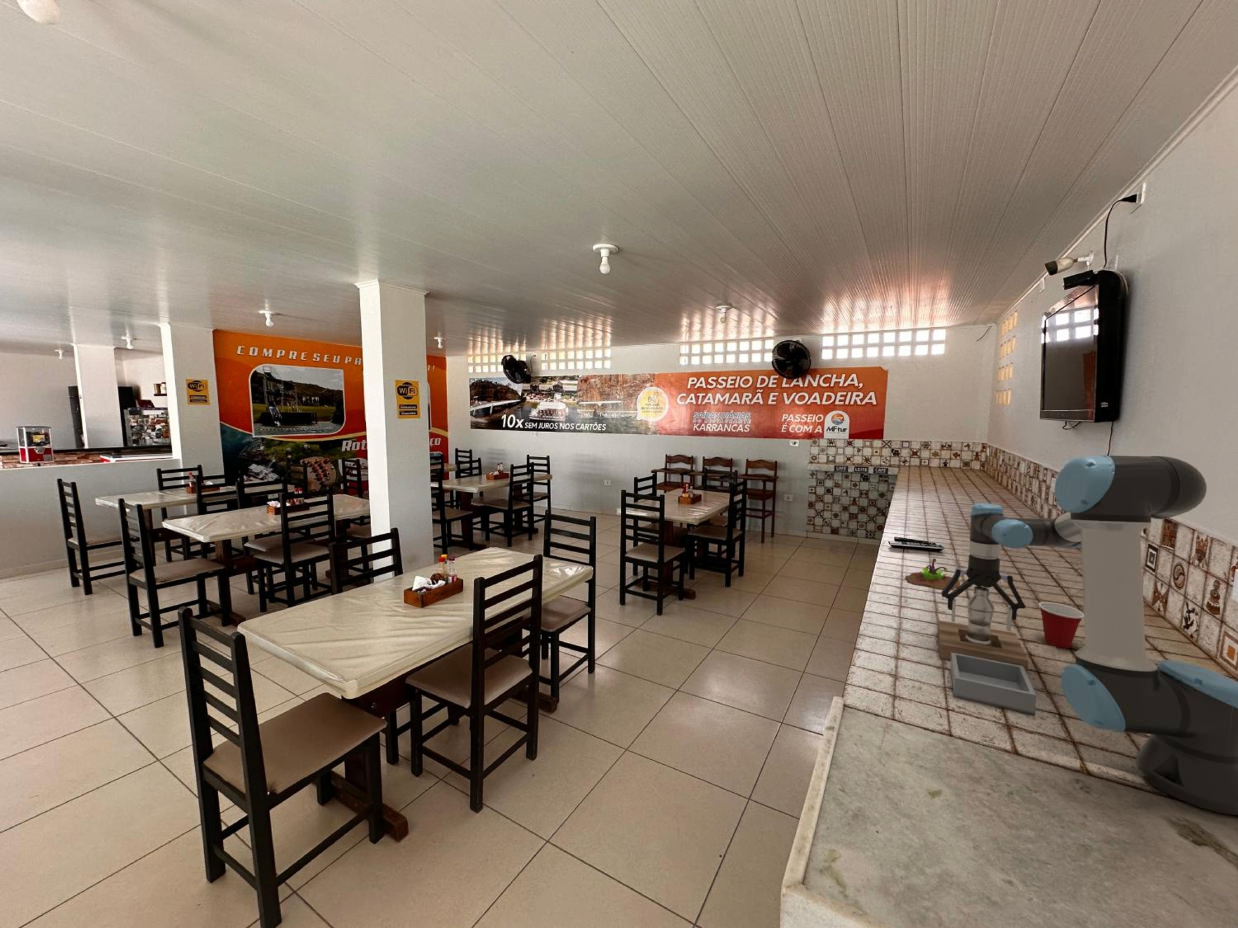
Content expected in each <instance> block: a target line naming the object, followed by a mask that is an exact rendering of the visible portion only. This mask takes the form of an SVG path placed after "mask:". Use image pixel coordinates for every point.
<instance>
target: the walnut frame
mask: <svg viewBox="0 0 1238 928" xmlns="http://www.w3.org/2000/svg"><path fill="white" fill-rule="evenodd" d="M937 624H938V625H937V637H938V646H939V647H938V648H939V654H940V655H939V656H940V660H947V661H950V662H951V652H952V653H957V654H962V655H967V656H973V657H978V658H983V659H988V660H993V661H999V662H1004V663H1009V664H1014V665H1019V666H1023V667H1024V669H1025V671H1026V673H1027V674H1028V669H1029V659H1028V657H1027V655H1026V652H1025V650H1024V648H1023V646H1022V644H1021V642H1020V640H1019V638H1018V636H1017V634H1016V632H1012V631H1008V630H1007V631H1005V630H999V629H994V628H993V629H992V628H990V638H991V639H990V640H991V645H992V647H990V646H984V645H979V644H973V643H968V642H964V641H965V637H966V635H967V629H968V624H963V623H958V622H952V621H945V620H941V619H938V623H937Z"/></svg>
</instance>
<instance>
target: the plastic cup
mask: <svg viewBox="0 0 1238 928" xmlns="http://www.w3.org/2000/svg"><path fill="white" fill-rule="evenodd" d="M1038 606H1039V609H1040V615H1041V619H1042V628H1043V634H1044V641H1045V643H1046V644H1048V645H1052V646H1055V647H1056V648H1058V649H1070V648H1071V647H1072V644H1073V641H1074V639H1075V637H1076V633H1077V631H1078V630H1077V629H1078V627H1079V624H1080V623H1081V621H1082V620H1083V619H1084V612H1083V611H1081V610H1079V609H1076V608H1074V607H1072V606H1069V605H1065V604H1061V603H1056V602H1050V601H1041V602H1039V603H1038Z"/></svg>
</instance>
